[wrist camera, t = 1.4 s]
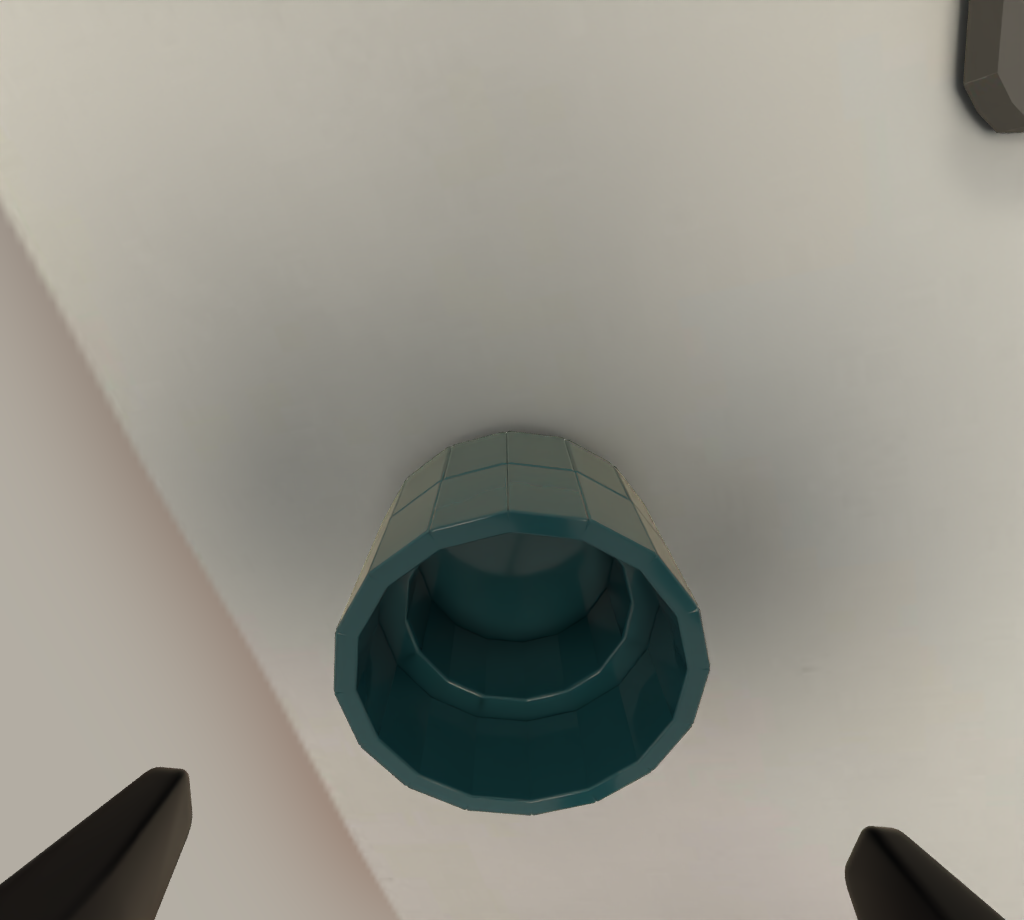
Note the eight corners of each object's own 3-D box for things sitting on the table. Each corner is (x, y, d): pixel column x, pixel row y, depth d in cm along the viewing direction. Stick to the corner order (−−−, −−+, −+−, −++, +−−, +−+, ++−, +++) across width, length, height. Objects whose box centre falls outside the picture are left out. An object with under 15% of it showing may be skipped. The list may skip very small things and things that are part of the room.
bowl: (619, 667, 16) (662, 827, 11) (378, 645, 15) (330, 800, 11) (673, 442, 13) (751, 536, 9) (392, 409, 13) (337, 491, 9)
